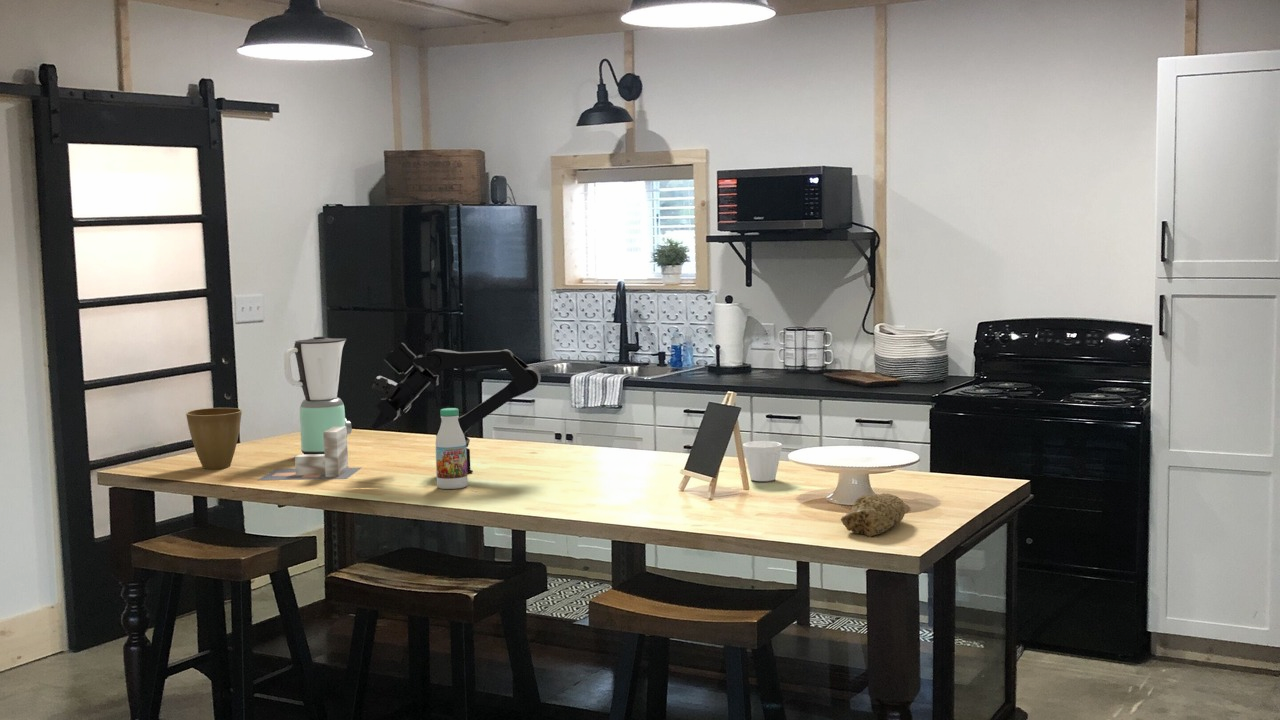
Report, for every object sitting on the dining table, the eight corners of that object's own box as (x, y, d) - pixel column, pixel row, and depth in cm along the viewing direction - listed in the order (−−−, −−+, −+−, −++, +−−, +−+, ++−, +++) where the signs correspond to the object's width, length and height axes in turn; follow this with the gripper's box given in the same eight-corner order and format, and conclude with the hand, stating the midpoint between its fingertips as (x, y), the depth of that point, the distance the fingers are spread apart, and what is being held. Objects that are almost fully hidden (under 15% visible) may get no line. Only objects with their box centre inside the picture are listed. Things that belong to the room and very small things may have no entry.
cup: (785, 477, 323) (785, 441, 322) (779, 484, 313) (778, 447, 313) (747, 475, 326) (746, 440, 325) (739, 483, 316) (739, 446, 315)
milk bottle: (431, 487, 321) (428, 409, 319) (456, 482, 326) (453, 405, 324) (447, 491, 315) (444, 411, 313) (473, 486, 320) (470, 408, 318)
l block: (348, 469, 346) (346, 426, 345) (338, 476, 336) (336, 432, 335) (303, 470, 347) (301, 427, 345) (292, 477, 337) (289, 432, 335)
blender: (341, 449, 384) (336, 334, 380) (360, 454, 373) (355, 336, 370) (281, 456, 372) (275, 338, 369) (298, 462, 362) (292, 340, 358)
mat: (362, 468, 349) (362, 467, 349) (346, 480, 333) (346, 478, 333) (276, 470, 350) (276, 469, 350) (256, 481, 334) (256, 480, 334)
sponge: (886, 546, 256) (927, 508, 271) (875, 510, 254) (917, 474, 270) (830, 549, 264) (873, 511, 279) (820, 514, 263) (864, 478, 278)
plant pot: (180, 472, 351) (177, 415, 349) (202, 462, 366) (199, 407, 364) (232, 471, 350) (229, 414, 348) (252, 461, 365) (249, 407, 363)
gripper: (397, 362, 347) (359, 402, 349) (381, 369, 329) (341, 412, 330) (427, 389, 348) (389, 430, 349) (413, 398, 329) (373, 441, 331)
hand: (373, 427), depth 340 cm, fingers closed
